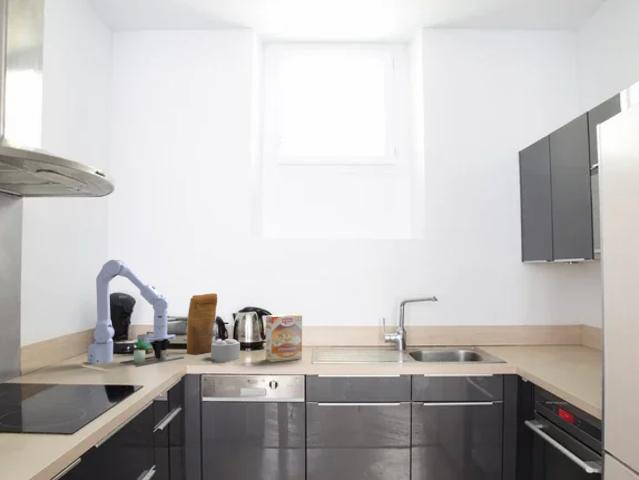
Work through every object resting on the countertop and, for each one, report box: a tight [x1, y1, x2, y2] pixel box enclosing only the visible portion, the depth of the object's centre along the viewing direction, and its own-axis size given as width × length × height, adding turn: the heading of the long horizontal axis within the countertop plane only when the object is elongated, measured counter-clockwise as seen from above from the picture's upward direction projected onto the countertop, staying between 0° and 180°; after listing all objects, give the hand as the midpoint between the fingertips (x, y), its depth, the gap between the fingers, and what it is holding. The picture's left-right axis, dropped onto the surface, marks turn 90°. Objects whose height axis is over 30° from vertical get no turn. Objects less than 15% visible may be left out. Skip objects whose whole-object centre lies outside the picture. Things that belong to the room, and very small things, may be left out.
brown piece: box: [124, 350, 167, 367], centre depth 210 cm, size 15×9×5 cm, turn 144°
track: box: [119, 353, 185, 368], centre depth 212 cm, size 23×12×2 cm, turn 144°
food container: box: [136, 331, 154, 355], centre depth 232 cm, size 12×6×10 cm, turn 179°
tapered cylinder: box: [133, 349, 146, 364], centre depth 207 cm, size 4×4×5 cm
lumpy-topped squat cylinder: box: [210, 338, 241, 363], centre depth 221 cm, size 10×13×9 cm
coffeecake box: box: [265, 313, 303, 363], centre depth 221 cm, size 15×7×20 cm, turn 118°
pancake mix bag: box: [186, 293, 218, 356], centre depth 238 cm, size 7×19×28 cm, turn 145°
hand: (159, 357), depth 215 cm, fingers closed on brown piece
